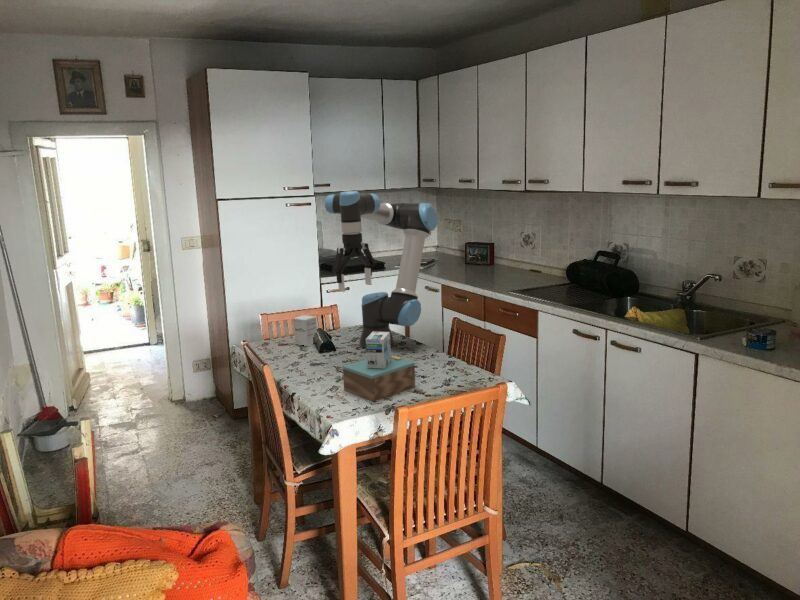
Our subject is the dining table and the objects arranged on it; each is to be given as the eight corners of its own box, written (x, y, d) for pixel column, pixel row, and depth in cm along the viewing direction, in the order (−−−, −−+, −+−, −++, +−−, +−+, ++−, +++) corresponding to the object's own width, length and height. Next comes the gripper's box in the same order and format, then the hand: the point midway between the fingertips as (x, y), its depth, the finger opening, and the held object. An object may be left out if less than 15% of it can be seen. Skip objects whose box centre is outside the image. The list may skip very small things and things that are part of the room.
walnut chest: (386, 376, 245) (385, 356, 243) (415, 386, 233) (414, 365, 231) (344, 390, 232) (342, 368, 230) (372, 401, 220) (371, 378, 218)
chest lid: (385, 356, 243) (385, 352, 243) (414, 365, 231) (414, 360, 231) (342, 368, 230) (342, 364, 230) (371, 378, 218) (371, 374, 218)
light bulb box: (385, 369, 225) (383, 339, 223) (366, 368, 226) (365, 338, 224) (391, 360, 235) (390, 331, 233) (373, 359, 236) (372, 330, 234)
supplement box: (294, 345, 291) (293, 317, 289) (306, 341, 297) (304, 314, 295) (306, 347, 287) (305, 319, 285) (318, 343, 293) (316, 316, 290)
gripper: (369, 228, 255) (372, 280, 260) (319, 236, 238) (323, 292, 243) (382, 229, 249) (385, 282, 255) (332, 238, 233) (336, 295, 238)
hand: (355, 287), depth 249 cm, fingers open, 13 cm apart
